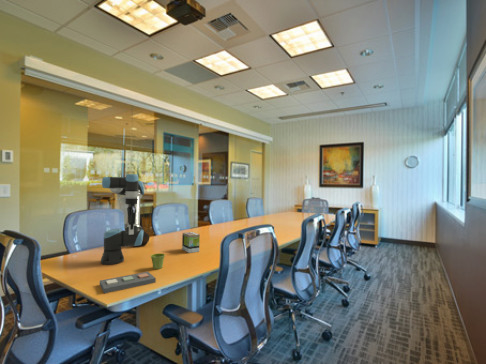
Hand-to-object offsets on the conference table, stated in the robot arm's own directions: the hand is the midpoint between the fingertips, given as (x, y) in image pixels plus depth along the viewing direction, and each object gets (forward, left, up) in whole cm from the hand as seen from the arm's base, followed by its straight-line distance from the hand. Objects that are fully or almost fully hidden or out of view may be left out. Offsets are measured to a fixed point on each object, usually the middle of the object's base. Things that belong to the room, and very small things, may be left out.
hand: (131, 234), depth 174 cm
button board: (+20, -7, -24) cm, 32 cm away
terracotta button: (+20, +2, -23) cm, 31 cm away
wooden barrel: (-70, +25, -25) cm, 78 cm away
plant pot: (+2, +17, -25) cm, 30 cm away
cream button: (+20, -15, -23) cm, 34 cm away
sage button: (+20, -7, -23) cm, 31 cm away
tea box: (-28, +56, -25) cm, 67 cm away
